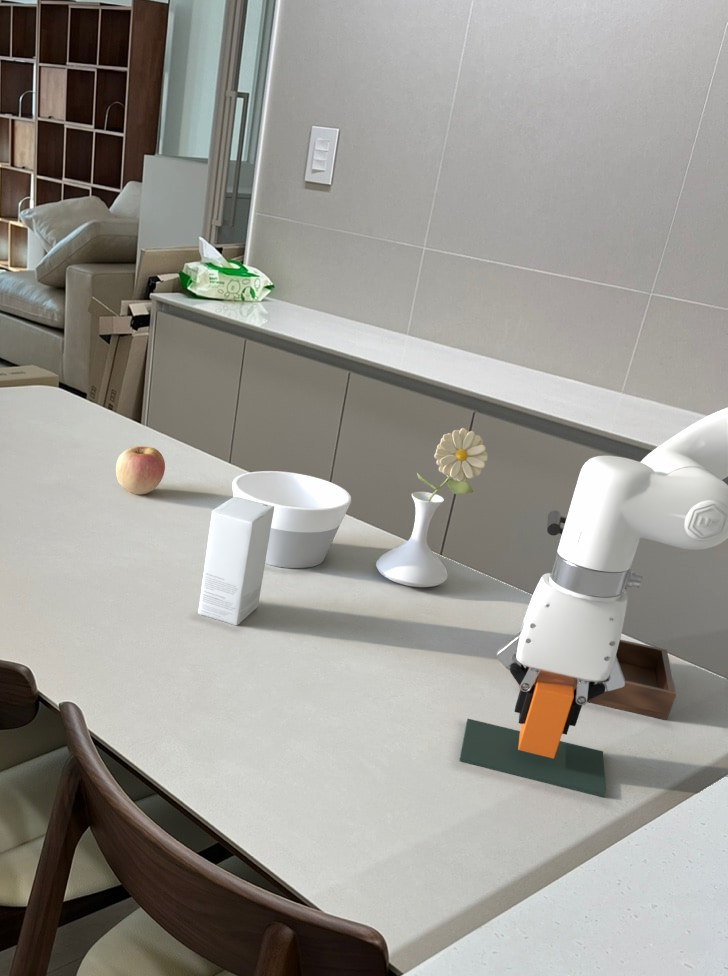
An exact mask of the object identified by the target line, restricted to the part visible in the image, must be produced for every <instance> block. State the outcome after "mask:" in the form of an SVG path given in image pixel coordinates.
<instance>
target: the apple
mask: <svg viewBox="0 0 728 976" xmlns="http://www.w3.org/2000/svg"><path fill="white" fill-rule="evenodd" d="M164 458H165V457H164V456H163V455H162V453H161V452H160V451H159V450H158V449H156V448H155V447H151V446H150V447H149V446H142V445H138V446H137V445H136V446H132V447H128V448H126V449H125V450H124V451H123V452H121V454H120V455H119V456H118V457H117V461H116V462H115V463H116V465H115V475H116V479H117V481H118V483H119V485H120V486H121V487H122V488H124V489H125V490H126V491H127V492H129V493H131V494H134V495H146V494H149V493H151V492H152V491H154V490H155V489H156V488H157V487H158V486H159V485H160V483H161V481H162V480H163V478H164V475H165V472H166V462H165V459H164Z"/></svg>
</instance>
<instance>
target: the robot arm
mask: <svg viewBox="0 0 728 976" xmlns="http://www.w3.org/2000/svg"><path fill="white" fill-rule="evenodd" d="M726 478H728V407H725V408H723V409H720V410H718V411H716V412H713V413H711V414H709V415H707V416H705V417H703V418H701V419H698V420H697V421H695V422H694V423H692V424H690V425H689V426H688V427H686V428H684V429H683V430H681V431H679V432H678V433H676V434H675V435H673V436H672V437H670V438H669V439H667V440H665V441H664V442H663V443H661V444H660V445H659V446H656V447H655V448H654V449H653V450H651V452H649V453H648V454H646V456H645V457H643V458H642V460H641V461H638V460H634V459H631V458H628V457H623V456H615V455H598V456H593V457H591V458H589V459H588V460H586V462H584V464H583V465H582V467H581V468H580V472H579V475H578V478H577V481H576V485H575V488H574V491H573V495H572V498H571V502H570V505H569V509H568V513H567V516H566V517H567V519H566V522H565V524H564V526H563V528H564V529H563V533H562V534H561V535H560V536H561V537H560V539H559V544H558V546H557V551H556V554H555V557H554V561H553V563H552V567H551V570H550V572H548V573H544V574H543V575H542V576H541V578H540V579H539V581H538V583H537V584H536V587H535V589H534V592H533V594H532V595H531V599H530V601H529V604H528V606H527V609H526V612H525V616H524V618H523V621H522V624H521V627H520V630H519V632H518V633H517V634H515V635H514V636H513V637H512V638H511V639H509V640H508V641H507V642H506V643H504V644H503V645H502V646H500V647H499V648H498V649H497V651H496V654H495V655H496V659H497V660H498V661H499V662H500V663H501V664H502V665H503V666H504V667H505V668H506V669H507V670H509V672H510V674H511V675H512V677H513V678H514V680H515V681H516V684H517V685H518V686H519V692H518V696H517V699H516V703H515V706H514V713H516V714H517V713H518V714H519V715H518V724H520V725H521V724H523V723H525V721H526V718H527V714H528V711H529V708H530V704H531V701H532V698H533V690H534V682H535V680H536V678H537V677H538V675H539V673H540V671H541V670H542V671H546V672H551V673H555V674H559V675H564V676H568V677H572V678H577V679H576V689H575V690H574V698H573V701H572V704H571V708H570V711H569V714H568V717H567V720H566V723H565V726H564V730H563V733H562V735H565V736H566V735H568V733H569V729H570V726H572V727H576V725H577V722H578V719H579V716H580V713H581V710H582V707H583V706H585V705H586V704H587V703H588V702H587V701H588V700H590V699H592V698H595V697H597V696H599V695H601V694H603V693H604V692H606V691H612V690H615V689H619V688H622V687H624V686H625V678H624V675H623V673H622V670H621V667H620V665H619V662H618V659H617V657H616V653H617V649H618V646H619V642H620V640H621V637H622V634H623V629H624V623H625V618H626V613H627V606H628V592H627V591H626V590H628V588H633V587H634V588H640V587H641V584H642V581H643V575H642V574H637V573H636V572H634V571H633V569H632V568H631V567H632V565H633V561H634V559H635V556H636V552H637V549H638V546H639V543H640V540H641V539H646V540H648V541H653V542H657V543H660V544H663V545H667V546H671V547H674V548H678V549H682V550H683V549H684V550H691V551H692V550H693V551H694V550H697V551H698V550H706V549H710V548H713V547H715V546H718V545H720V544H722V543H724V542H725V541H726V540H728V484H727V483H726V482H725V481H723V480H724V479H726ZM514 654H515V655H516V656H515V655H514ZM589 681H592V682H589Z"/></svg>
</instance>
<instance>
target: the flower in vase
mask: <svg viewBox="0 0 728 976" xmlns="http://www.w3.org/2000/svg"><path fill="white" fill-rule="evenodd" d="M483 443H484V439H483V438H482V437H481V435H479V434H476V432H475V431H474V430H470V431H469V430H468V429H466V428H465V427H462V428H460V429H454V430H453V431H452V433H451V432H448V433H444V434H443V436H442V437H441V438H440V442H439V444H437V446H436V449H435V453H434V455H433V457H434V459H435V460H436V462H435V463H436V466H438V472H439V473H442V474H443V475H445V476H446V477H447V478H446V479H445V480H444V481H443V482H442V483H441V484H440V485H439V486H438V488H437V487H436V486H435V485H434V484H433V483H432V482H430V481H429V480H426V479H425V478H423V477H422V476H421V475H420V474H419V473H418V472H416V475H417V478H418V480H420V481H421V482H422V483H424V484H425V485H427V486H429V487H431V488H432V489H433V490H434V491H433V492H432V493H431V492H427V491H415V492H412V493H411V498H412V499H413V502H414V507H415V518H414V524H413V530H412V533H411V535H410V537H409V539H408V540H407V541H405V542H404V543H402V544H401V545H398V546H396V547H395V548H392V549H390V550H387V551H386V552H385V553H383V554H382V555H381V556H379V558H378V559H377V560H376V563H375V566H376V568H377V571H378V573H380V575H382V576H383V577H384V578H386V579H388V580H390V581H392V582H394V583H397V584H400V585H404V586H408V587H414V588H429V587H436V586H439V585H441V584H443V583H444V582H445V581H446V580H448V569H447V568H446V566H445V565H444V563H443V562H442V560H441V559H440V558H439V557H438V556H437V555H436V553H434V552H433V550H432V549H431V548H430V547H429V545H428V541H427V540H428V531H429V527H430V523H431V521H432V518H433V516H434V513H435V512H436V511H437V509H438V508H439V506H440V505H441V504H443V503H444V502H445V498H444V497H443V496H441V495H439V494H437V493H439V491H440V490H441V489H442V488H443V487H444V486H445V484H447V487H448V488H449V490H450V492H452V494H454V495H466V494H470V493H473V492H474V489H473V488H472V486H471V485H470V484H469V482H468V481H467V479H470V480H471V479H475V477H479V476H480V475H481V473H482V471H483V470H482V469H484V468H485V467H486V462H487V461H488V460H489V458H488V456H489V453H488V452H487V451H486V450H487V447H486V446H485V444H483Z"/></svg>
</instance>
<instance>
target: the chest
mask: <svg viewBox="0 0 728 976" xmlns="http://www.w3.org/2000/svg"><path fill="white" fill-rule="evenodd" d="M616 657H617V659H618V662H619V665H620V667H621V670H622V673H623V675H624V678H625V686H624V687H622V688H619V689H615V690H612V691H606V692H604V693H603V694H601V695H599V696H597V697H595V698H592V699H590V700H588V701H587V703H591V704H595V705H599V706H604V707H608V708H613V709H616V710H621V711H625V712H629V713H633V714H637V715H638V714H639V715H643V716H646V717H652V718H656V719H660V720H664V721H667V720H668V717H669V715H670V713H671V709H672V706H673V704H674V701H675V698H676V696H677V692H676V689H675V683H674V677H673V673H672V667H671V663H670V658H669V653H668V649H666V648H663V647H662V648H660V647H657V646H653V645H647V644H643V643H639V642H634V641H629V640H624V639H620V642H619V646H618V649H617V653H616ZM576 679H577V678H574V690H575V689H576ZM589 682H592V681H589Z"/></svg>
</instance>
